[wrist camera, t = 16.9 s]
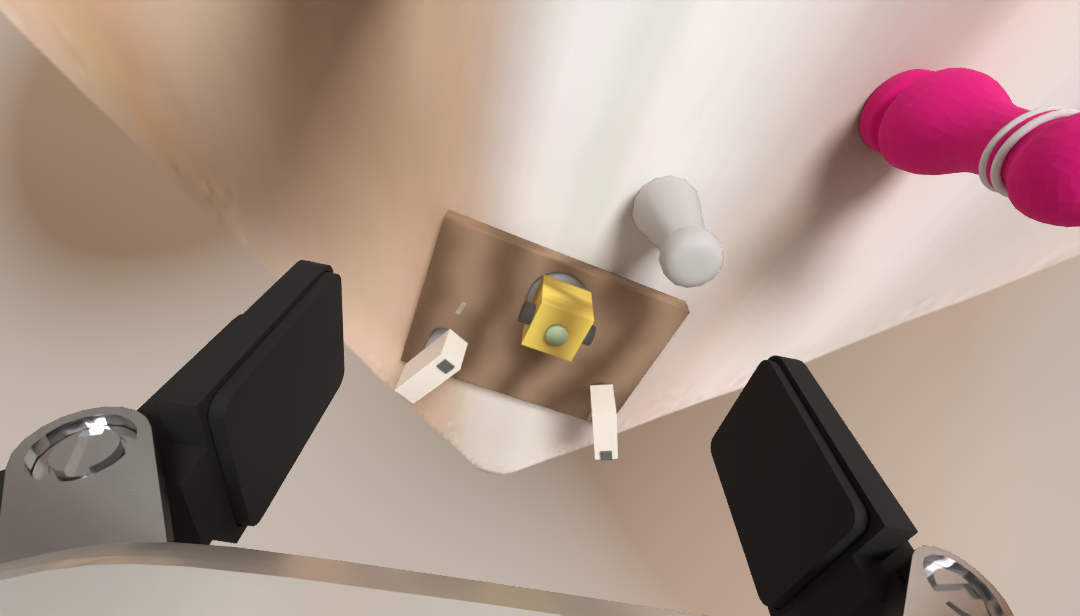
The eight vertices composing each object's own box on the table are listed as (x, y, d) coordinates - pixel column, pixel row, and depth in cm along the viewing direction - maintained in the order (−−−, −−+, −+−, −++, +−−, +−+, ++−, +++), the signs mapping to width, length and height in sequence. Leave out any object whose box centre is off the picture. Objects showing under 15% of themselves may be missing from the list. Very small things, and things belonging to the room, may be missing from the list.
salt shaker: (648, 239, 44) (676, 315, 34) (617, 193, 42) (636, 258, 31) (704, 205, 42) (752, 274, 31) (674, 155, 40) (716, 210, 29)
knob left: (430, 360, 51) (413, 405, 45) (412, 346, 50) (392, 391, 44) (473, 327, 48) (460, 371, 43) (454, 312, 47) (439, 355, 42)
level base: (405, 349, 53) (381, 402, 46) (448, 209, 44) (425, 249, 36) (605, 414, 58) (612, 472, 51) (685, 301, 48) (706, 353, 41)
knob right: (587, 368, 51) (591, 415, 45) (611, 366, 51) (617, 413, 45) (591, 412, 55) (594, 461, 49) (612, 411, 54) (618, 460, 49)
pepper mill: (888, 172, 40) (1120, 291, 23) (832, 125, 38) (1042, 218, 21) (970, 97, 36) (1313, 173, 20) (913, 41, 35) (1240, 72, 18)
